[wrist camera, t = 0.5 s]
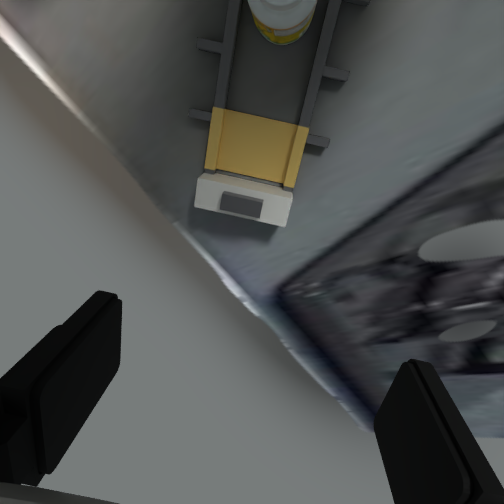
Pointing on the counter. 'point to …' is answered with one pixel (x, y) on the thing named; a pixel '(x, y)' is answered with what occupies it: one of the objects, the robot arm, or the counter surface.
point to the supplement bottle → (282, 18)
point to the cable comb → (258, 135)
